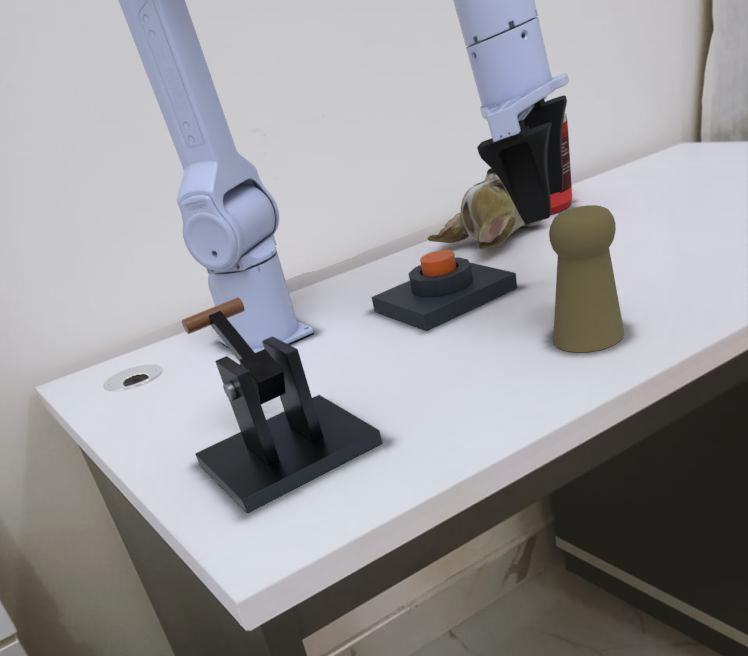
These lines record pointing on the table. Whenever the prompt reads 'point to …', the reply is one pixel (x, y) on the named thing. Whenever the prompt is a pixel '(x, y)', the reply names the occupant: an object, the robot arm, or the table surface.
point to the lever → (241, 348)
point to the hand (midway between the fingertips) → (544, 206)
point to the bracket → (281, 434)
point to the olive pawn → (585, 280)
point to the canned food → (565, 196)
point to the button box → (443, 294)
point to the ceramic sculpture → (484, 216)
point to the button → (438, 263)
